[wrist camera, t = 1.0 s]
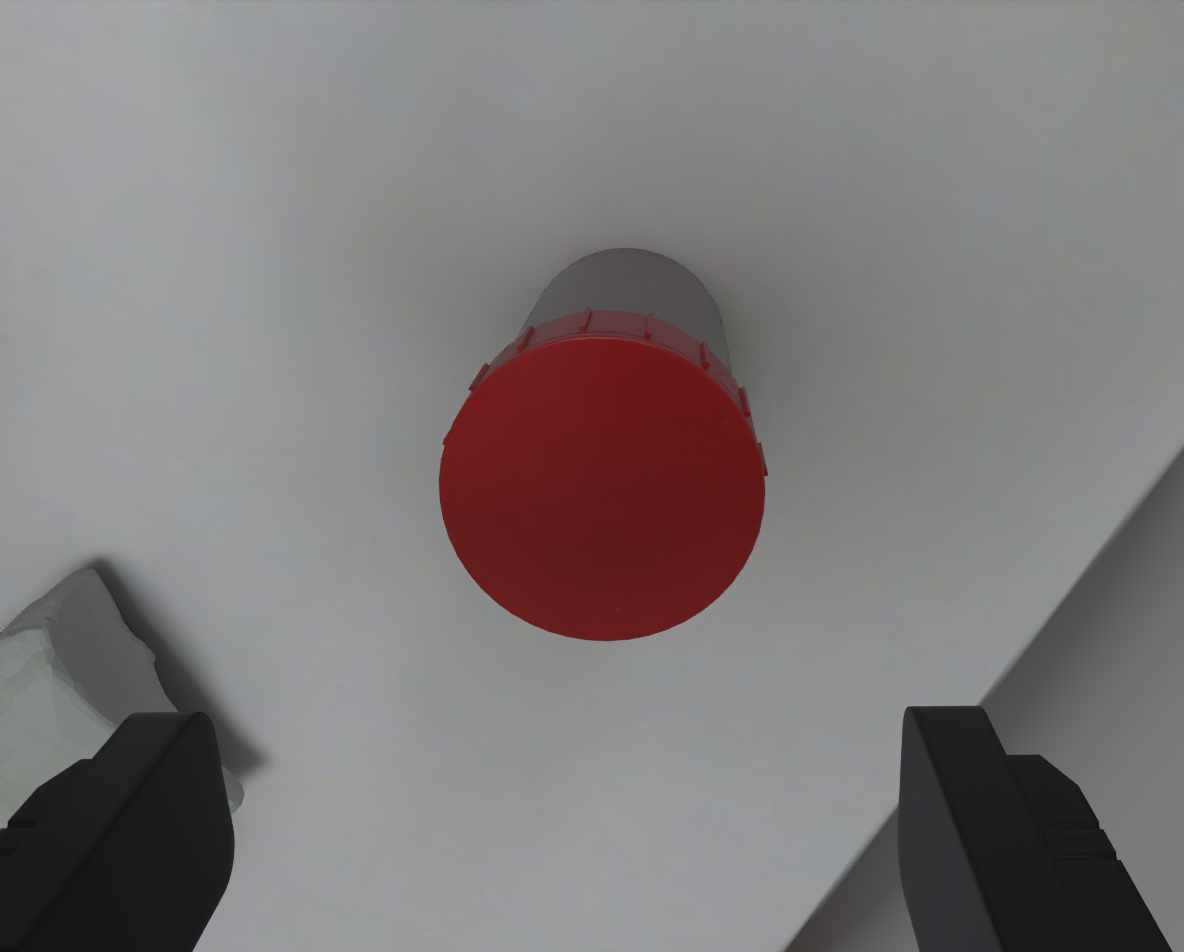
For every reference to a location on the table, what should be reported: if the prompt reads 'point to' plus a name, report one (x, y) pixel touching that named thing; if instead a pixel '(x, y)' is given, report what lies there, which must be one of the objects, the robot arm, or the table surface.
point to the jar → (634, 294)
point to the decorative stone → (71, 687)
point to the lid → (603, 477)
